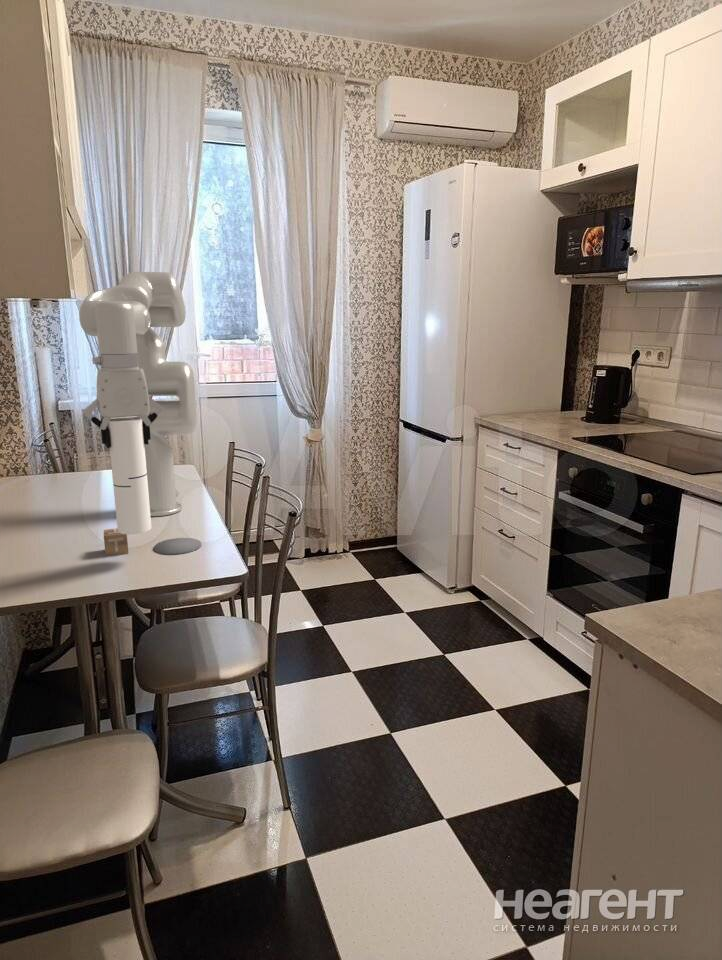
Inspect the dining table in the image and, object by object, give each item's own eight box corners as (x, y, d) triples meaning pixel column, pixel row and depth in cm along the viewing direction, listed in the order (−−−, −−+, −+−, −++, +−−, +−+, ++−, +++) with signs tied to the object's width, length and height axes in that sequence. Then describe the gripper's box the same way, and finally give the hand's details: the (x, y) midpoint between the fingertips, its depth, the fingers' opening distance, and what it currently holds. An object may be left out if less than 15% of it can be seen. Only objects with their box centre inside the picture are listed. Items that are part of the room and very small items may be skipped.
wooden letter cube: (105, 549, 152) (103, 529, 151) (127, 547, 154) (126, 526, 153) (105, 556, 148) (103, 535, 146) (128, 554, 149) (126, 533, 148)
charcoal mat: (166, 538, 160) (165, 537, 160) (208, 540, 159) (207, 538, 158) (146, 553, 149) (145, 551, 149) (190, 555, 148) (190, 554, 148)
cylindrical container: (154, 531, 142) (145, 420, 136) (120, 536, 139) (109, 422, 132) (147, 522, 148) (138, 415, 142) (115, 526, 145) (104, 417, 138)
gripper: (76, 365, 127) (86, 452, 131) (165, 362, 135) (171, 444, 139) (72, 362, 133) (81, 446, 137) (157, 359, 141) (163, 438, 146)
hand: (126, 444), depth 138 cm, fingers closed on cylindrical container, 7 cm apart
